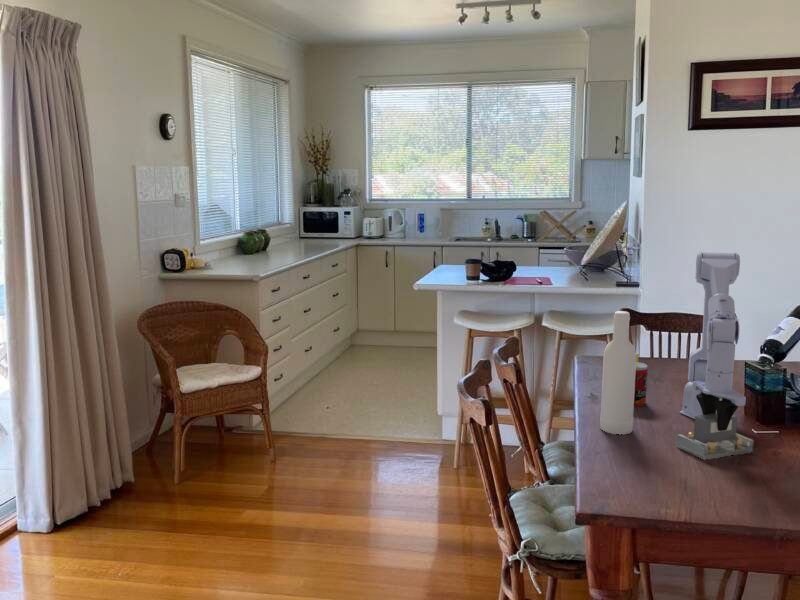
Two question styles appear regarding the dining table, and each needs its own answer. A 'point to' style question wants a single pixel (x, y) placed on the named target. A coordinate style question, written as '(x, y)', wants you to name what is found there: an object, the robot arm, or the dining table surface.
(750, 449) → the pin tray
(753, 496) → the dining table surface
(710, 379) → the robot arm
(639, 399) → the canned food
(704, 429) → the block
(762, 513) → the dining table surface
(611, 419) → the bottle
